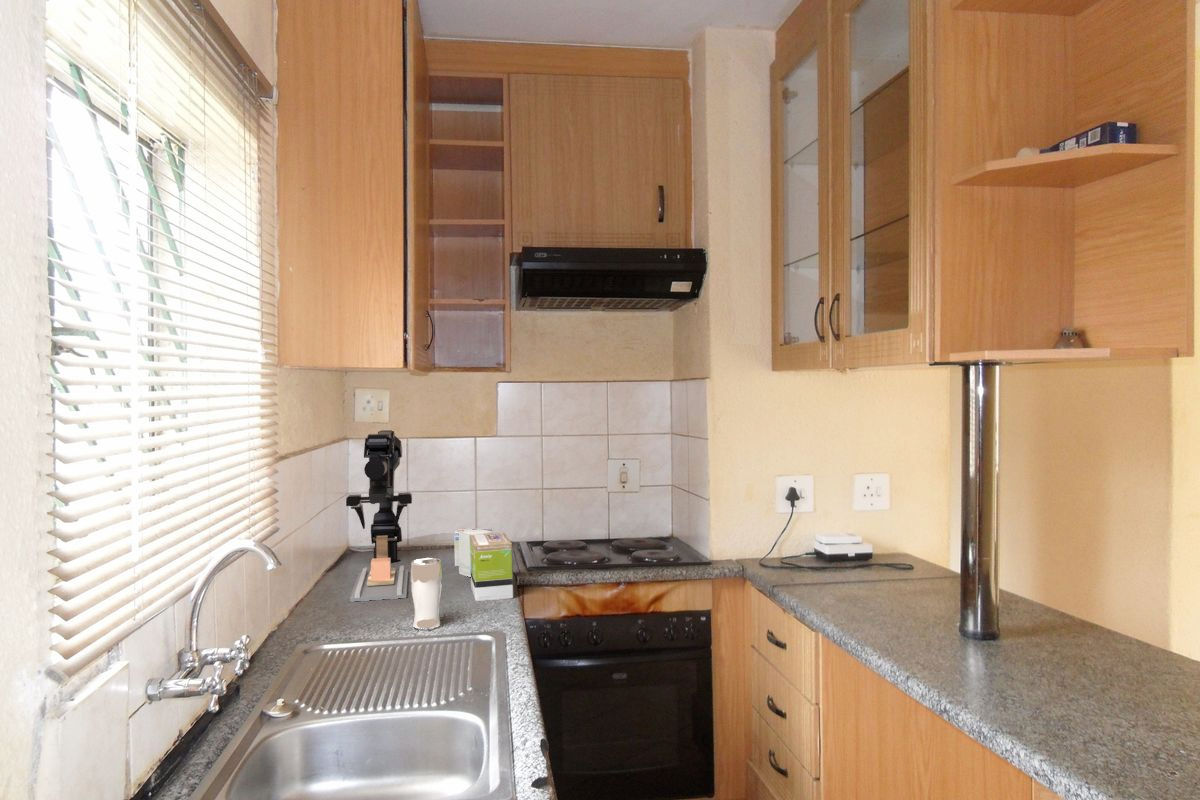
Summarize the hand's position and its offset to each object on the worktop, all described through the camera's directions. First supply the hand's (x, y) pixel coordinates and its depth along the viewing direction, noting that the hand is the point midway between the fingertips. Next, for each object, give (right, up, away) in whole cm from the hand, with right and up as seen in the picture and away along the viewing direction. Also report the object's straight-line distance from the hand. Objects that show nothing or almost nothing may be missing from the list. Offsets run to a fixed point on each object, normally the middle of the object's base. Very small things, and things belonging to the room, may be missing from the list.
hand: (380, 528), depth 233 cm
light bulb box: (+27, -13, +9) cm, 31 cm away
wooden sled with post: (+4, -12, -14) cm, 19 cm away
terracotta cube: (+5, -11, -18) cm, 22 cm away
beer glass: (+26, -13, -56) cm, 63 cm away
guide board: (+5, -13, -18) cm, 23 cm away
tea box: (+37, -13, -27) cm, 47 cm away
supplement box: (+29, -13, -5) cm, 33 cm away
